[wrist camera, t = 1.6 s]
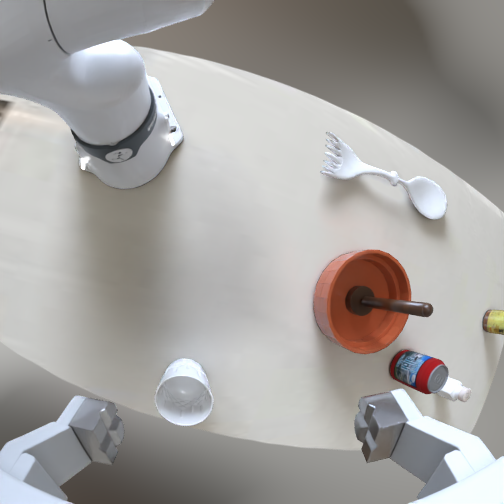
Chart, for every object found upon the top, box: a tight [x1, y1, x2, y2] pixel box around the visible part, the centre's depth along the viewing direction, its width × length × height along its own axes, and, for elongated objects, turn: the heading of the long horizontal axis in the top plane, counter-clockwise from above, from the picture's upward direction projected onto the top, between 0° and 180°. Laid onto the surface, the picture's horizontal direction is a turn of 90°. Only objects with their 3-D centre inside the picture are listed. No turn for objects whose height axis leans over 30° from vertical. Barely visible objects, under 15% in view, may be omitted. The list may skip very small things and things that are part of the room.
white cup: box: [154, 358, 214, 426], centre depth 39 cm, size 8×8×10 cm
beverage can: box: [390, 350, 448, 394], centre depth 46 cm, size 7×7×12 cm
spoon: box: [320, 132, 447, 220], centre depth 52 cm, size 9×32×4 cm, turn 78°
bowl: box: [314, 250, 411, 354], centre depth 48 cm, size 17×17×6 cm
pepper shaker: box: [437, 377, 471, 402], centre depth 49 cm, size 4×4×10 cm
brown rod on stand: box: [345, 286, 433, 317], centre depth 40 cm, size 5×5×19 cm
